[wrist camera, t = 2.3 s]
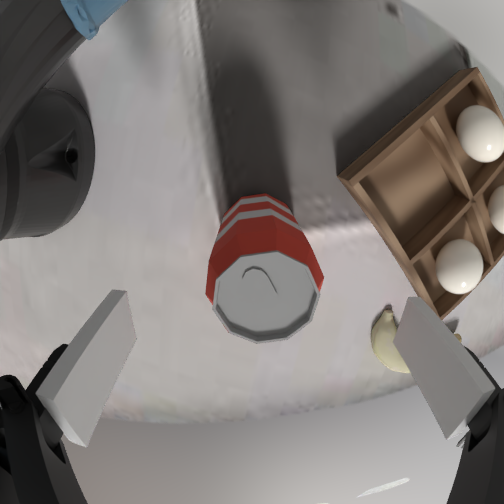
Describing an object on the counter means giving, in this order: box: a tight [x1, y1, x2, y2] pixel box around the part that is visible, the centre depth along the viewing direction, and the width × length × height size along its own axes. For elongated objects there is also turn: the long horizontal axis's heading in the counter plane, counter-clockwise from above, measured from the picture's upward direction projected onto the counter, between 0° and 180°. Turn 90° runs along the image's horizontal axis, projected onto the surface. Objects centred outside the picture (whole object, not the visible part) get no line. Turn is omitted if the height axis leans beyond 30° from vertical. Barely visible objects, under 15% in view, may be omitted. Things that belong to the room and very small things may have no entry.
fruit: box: [371, 309, 461, 373], centre depth 29 cm, size 7×15×3 cm, turn 69°
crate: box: [337, 67, 504, 320], centre depth 22 cm, size 20×20×3 cm
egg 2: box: [435, 239, 483, 294], centre depth 22 cm, size 6×6×6 cm
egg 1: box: [456, 105, 504, 162], centre depth 17 cm, size 6×6×6 cm
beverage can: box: [205, 193, 324, 344], centre depth 19 cm, size 6×6×12 cm
